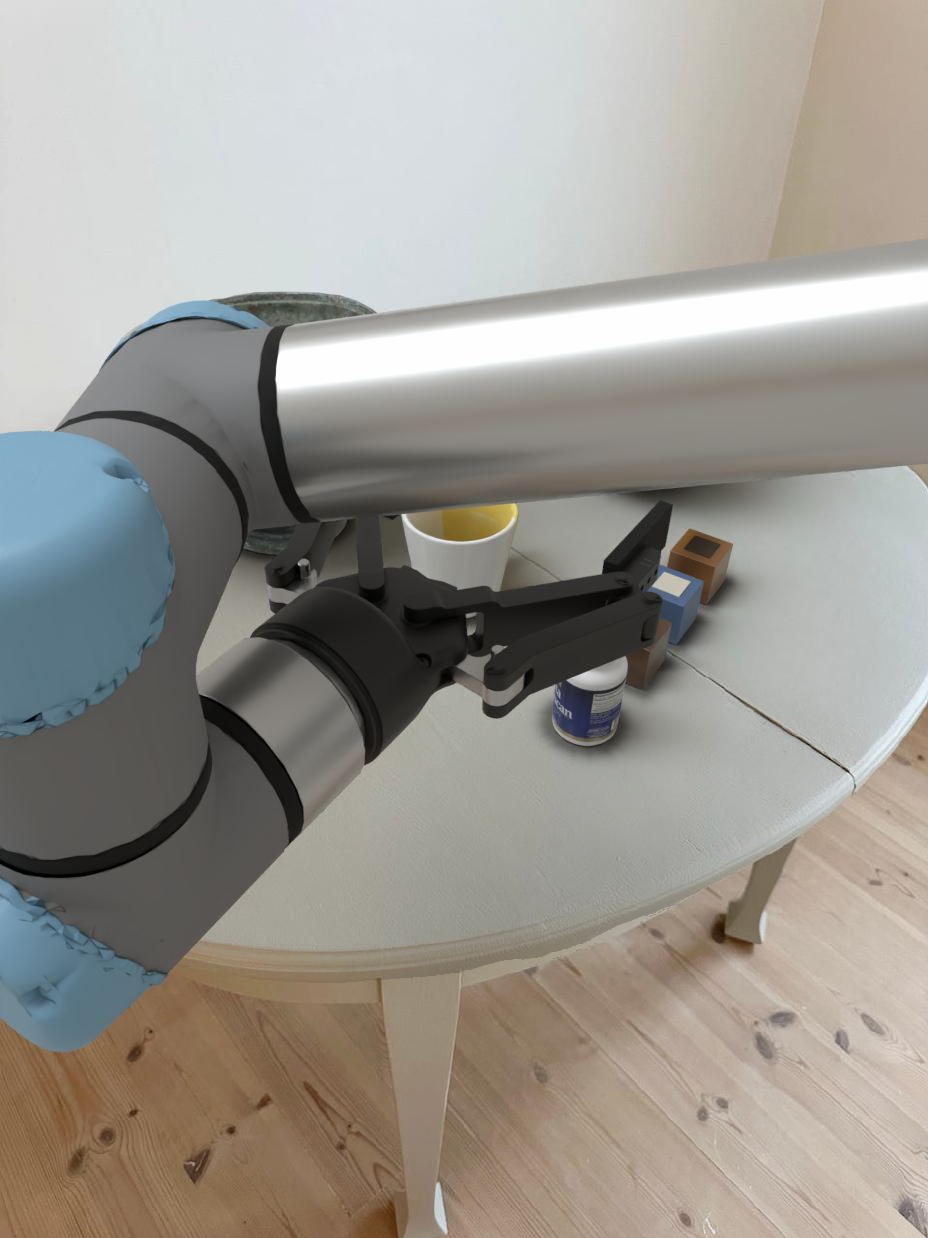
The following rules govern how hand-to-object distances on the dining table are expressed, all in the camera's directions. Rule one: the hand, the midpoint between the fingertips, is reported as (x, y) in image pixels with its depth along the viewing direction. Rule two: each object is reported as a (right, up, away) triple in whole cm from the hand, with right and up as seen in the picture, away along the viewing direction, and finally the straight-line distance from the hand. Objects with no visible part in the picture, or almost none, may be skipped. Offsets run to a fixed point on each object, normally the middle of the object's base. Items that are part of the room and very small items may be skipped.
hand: (552, 483), depth 54 cm
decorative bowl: (-24, +3, +46) cm, 52 cm away
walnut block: (+10, -12, +30) cm, 33 cm away
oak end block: (+17, -4, +39) cm, 43 cm away
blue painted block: (+13, -8, +34) cm, 38 cm away
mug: (-4, -5, +37) cm, 38 cm away
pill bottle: (+5, -16, +24) cm, 30 cm away
